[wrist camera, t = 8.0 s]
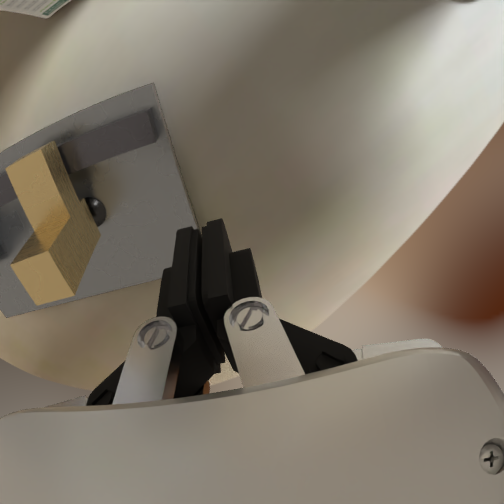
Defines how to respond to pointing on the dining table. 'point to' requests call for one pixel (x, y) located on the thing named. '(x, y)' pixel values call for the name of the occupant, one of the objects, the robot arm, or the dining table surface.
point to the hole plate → (106, 195)
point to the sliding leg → (51, 227)
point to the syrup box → (33, 7)
